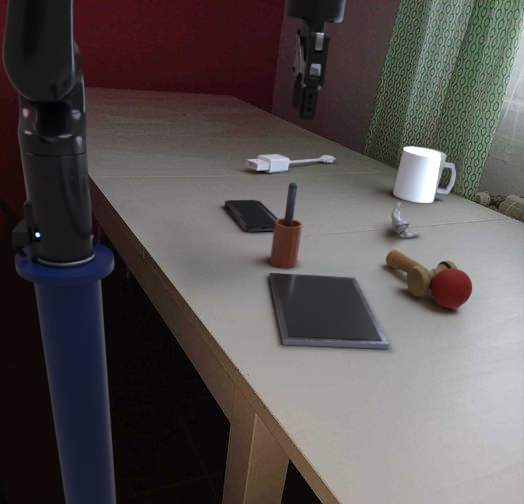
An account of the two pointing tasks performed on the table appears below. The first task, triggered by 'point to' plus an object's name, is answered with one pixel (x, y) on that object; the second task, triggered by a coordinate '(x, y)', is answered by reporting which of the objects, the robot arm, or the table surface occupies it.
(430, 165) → the mug
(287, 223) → the stylus
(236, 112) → the table surface
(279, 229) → the pen cup
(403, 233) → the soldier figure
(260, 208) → the phone
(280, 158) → the charging cable
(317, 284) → the tablet
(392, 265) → the kendama
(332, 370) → the table surface
